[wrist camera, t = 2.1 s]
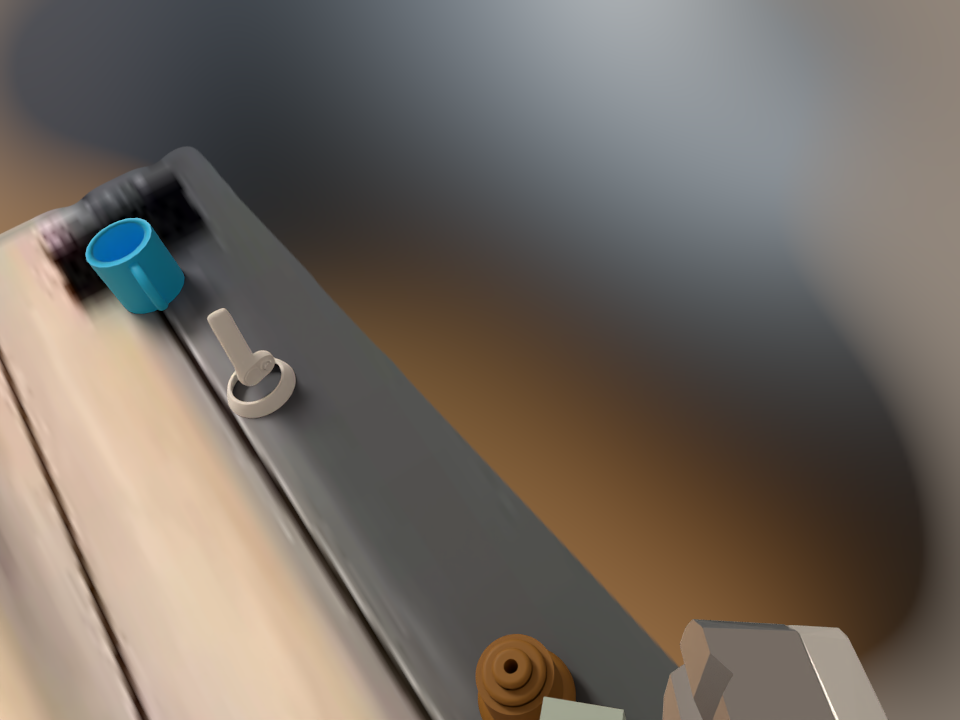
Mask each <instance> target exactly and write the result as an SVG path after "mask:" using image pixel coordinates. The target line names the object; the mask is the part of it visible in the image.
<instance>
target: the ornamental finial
mask: <svg viewBox="0 0 960 720" xmlns="http://www.w3.org/2000/svg"><path fill="white" fill-rule="evenodd" d="M546 671H547V674H546ZM476 684H477V688H478V705H479V710H480V714H481V717H482V719H483V720H540V715H541V709H542V704H543V698H544V697H550V698H556V699H562V700H568V701H574V702H576V691H575V685H574V681H573V678H572V676H571V673H570V671H569V670H568V668H567V666H566V665H565V664H564V663H563V661H562V660H561V659H560V658H559V657H557V656H556V655H555V654H553V653H552V652H550V651H548V650H547V649H546V648H545V647H544V646H543V645H542V644H541V643H540V642H539V641H537V640H536V639H534V638H532V637H530V636H527V635H522V634H512V635H507V636H503V637H501V638H499V639H497V640H495V641H494V642H492V643H491V644H490V645H489V646H488V647H487V648H486V649H485V650H484V652H483V653H482V655H481V657H480V659H479V661H478V664H477V668H476ZM496 701H497V702H498V703H497V702H496Z"/></svg>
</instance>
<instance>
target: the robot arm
mask: <svg viewBox="0 0 960 720" xmlns="http://www.w3.org/2000/svg"><path fill="white" fill-rule="evenodd" d="M680 648H681V651H682V656H683V659H684V663H685V664H684V665H682V666H681V667H679V668H678V669H677V670H675V671H674V672H672V673H671V674H670V677H669V680H668V684H667V688H666V691H665V695H664V705H663V720H888V718H887V716H886V714H885V712H884V710H883V708H882V706H881V704H880V702H879V700H878V698H877V696H876V694H875V692H874V690H873V687H872V685H871V683H870V681H869V680H868V677H867V675H866V673H865V671H864V669H863V667H862V665H861V663H860V661H859V659H858V657H857V655H856V653H855V651H854V649H853V647H852V645H851V643H850V641H849V639H848V637H847V636H846V635H845V634H844V633H843V632H842V631H841V630H840V629H839V628H829V627H828V628H827V627H812V626H796V625H795V626H794V625H790V626H786V625H784V624H767V623H749V622H732V621H712V620H695V619H693V620H692V621H691V622H690V623H689V624H688V625H687V626H686V628H685V631H684V634H683V637H682V639H681V643H680Z"/></svg>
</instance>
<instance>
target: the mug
mask: <svg viewBox="0 0 960 720" xmlns="http://www.w3.org/2000/svg"><path fill="white" fill-rule="evenodd" d="M86 259H87V261H88V263H89V264H90V265H91V266H92V267H93V269H94V270H95V271H96V272H97V274H98V275H99V276H100V277H101V279H102V280H103V281H104V282H105V284H106V285H107V286H108V287H109V289H110V290H111V291H112V292H113V294H114V295H115V296H116V297H117V298H118V300H119V301H120V302H121V303H122V305H123V306H124V307H125V308H126V309H127V310H128V311H129V312H132V313H135V314H145V313H149V312H153V311H156V310H160V311H163V310H165V309H167V308H168V303H170V302H171V301H172V300H174V298H175V297H176V296H177V295H178V294H179V293H180V291H181V289H182V287H183V285H184V279H185V277H184V274H183V272H182V270H181V269H180V267H179V266H178V264H177V263H176V261H175V260H174V259H173V257H172V256H171V254H170V253H169V251H168V250H167V248H166V247H165V246H164V244H163V243H162V241H161V240H160V238H159V237H158V235H157V234H156V233H155V231H154V230H153V228H152V227H151V225H150V224H149V223H148V222H147V221H145V220H143V219H139V218H128V219H124V220H120V221H117V222H115V223H113V224H111V225H109V226H107V227H106V228H104V229H103V230H101V231H100V232H99V233H98V234H97V235H96V236H95V237H94V238H93V239H92V240H91V242H90V243H89V245H88V247H87V250H86Z"/></svg>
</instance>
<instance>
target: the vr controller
mask: <svg viewBox="0 0 960 720" xmlns="http://www.w3.org/2000/svg"><path fill="white" fill-rule="evenodd" d="M207 320H208V322H209V324H210V326H211V328H212V330H213V331H214V333H215V335H216V337H217V338H218V340H219V342H220V343H221V345H222V347H223V349H224V350H225V352H226V354H227V356H228V357H229V359H230V361H231V362H232V364H233V366H234V368H235V370H236V371H235V372H234V373H233V374H232V376H231V378H230V380H229V383H228V388H227V398H228V403H229V406H230V408H231V410H232V411H233V412H234V413H236V414H237V415H239V416H241V417H245V418H258V417H262V416H265V415H268V414H270V413H272V412H274V411H276V410H277V409H279V408H280V407H281V406H282V405H283V404H284V403H285V402H286V401H287V400H288V399H289V397H290V396H291V394H292V392H293V390H294V387H295V383H296V377H295V373H294V371H293V369H292V368H291V367H290V366H289V365H288V364H287V363H285V362H283V361H281V360H279V359H276V358H274V357H273V356H272V354H271V353H270V352H268V351H263V350H262V351H257V352H255V353H254V354H252V352H251V350H250V348H249V347H248V345H247V343H246V341H245V340H244V338H243V336H242V334H241V333H240V331H239V329H238V327H237V326H236V324H235V322H234V320H233V319H232V317H231V315H230V314H229V312H228V311H227V310H226V309H224V308H222V309H219V310H217V311H215V312H213V313H211V314H210V315H209V316H208V318H207ZM275 364H278V365H279V367H280V369H281V379H280V382H279V384H278V386H277V387H276V388H275V390H274V391H273V392H272V393H270V394H269V395H268V396H266V397H264V398H263V399H260V400H258V401H254V402H243V401H240V400H238V399H236V398H235V397H234V396H233V394H232V391H233V388H234V386H235V384H236V382H237V381H238V380H239V381H240V382H241V383H242V384H244V385H247V386H254V385H256V384H257V383H259V382H260V381H261V380H262V379H263V378H264V377H265V376H266V375H267V374H269V373H270V372H271V371H272V369H273V368H274V365H275Z"/></svg>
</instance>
